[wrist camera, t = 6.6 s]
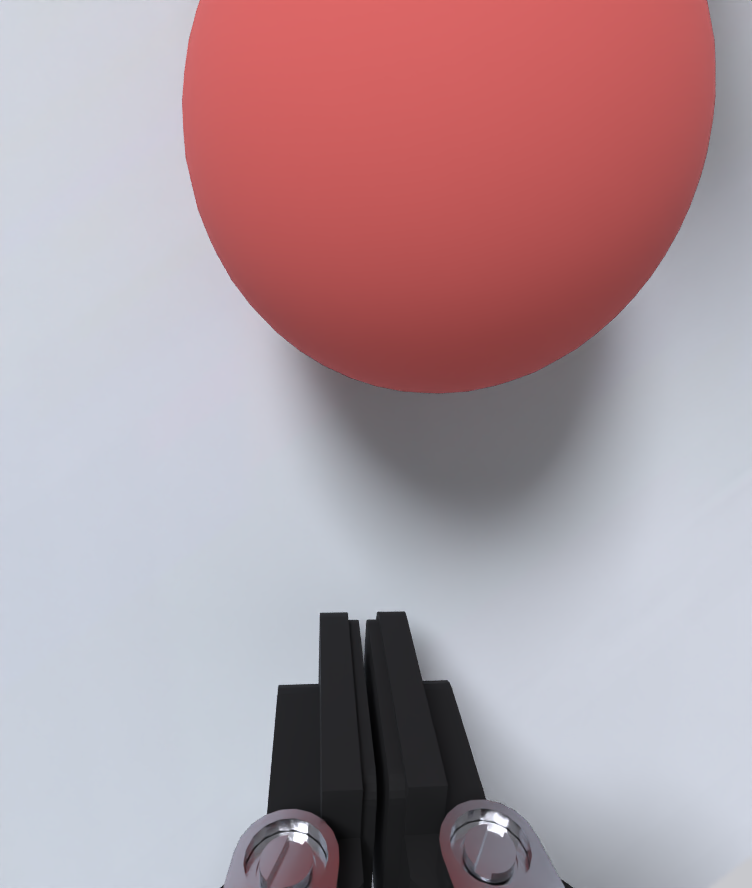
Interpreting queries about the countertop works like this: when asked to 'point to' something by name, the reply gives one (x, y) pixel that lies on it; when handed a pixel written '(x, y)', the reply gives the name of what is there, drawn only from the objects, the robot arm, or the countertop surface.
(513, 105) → the ball
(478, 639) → the countertop surface
